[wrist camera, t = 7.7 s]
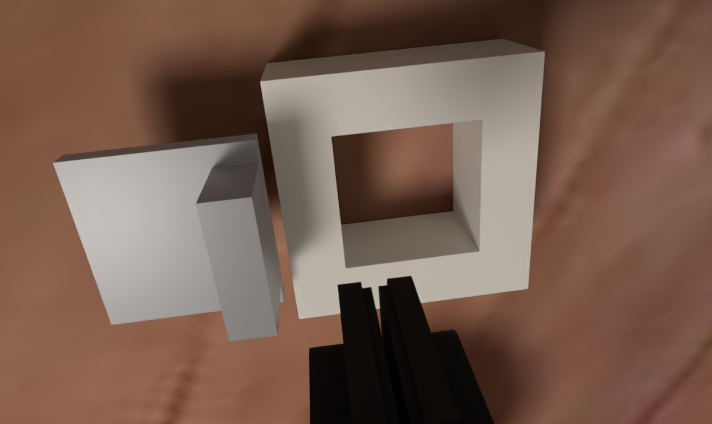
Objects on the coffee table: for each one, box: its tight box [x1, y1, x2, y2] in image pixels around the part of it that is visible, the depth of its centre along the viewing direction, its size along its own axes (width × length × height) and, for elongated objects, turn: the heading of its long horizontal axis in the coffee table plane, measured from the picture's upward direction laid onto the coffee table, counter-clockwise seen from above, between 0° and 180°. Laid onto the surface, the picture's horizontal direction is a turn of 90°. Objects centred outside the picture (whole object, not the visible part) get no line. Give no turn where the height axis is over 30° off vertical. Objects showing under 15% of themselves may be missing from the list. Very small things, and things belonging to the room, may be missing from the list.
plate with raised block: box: [53, 133, 284, 342], centre depth 17 cm, size 7×7×4 cm
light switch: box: [260, 39, 545, 319], centre depth 22 cm, size 10×10×4 cm
